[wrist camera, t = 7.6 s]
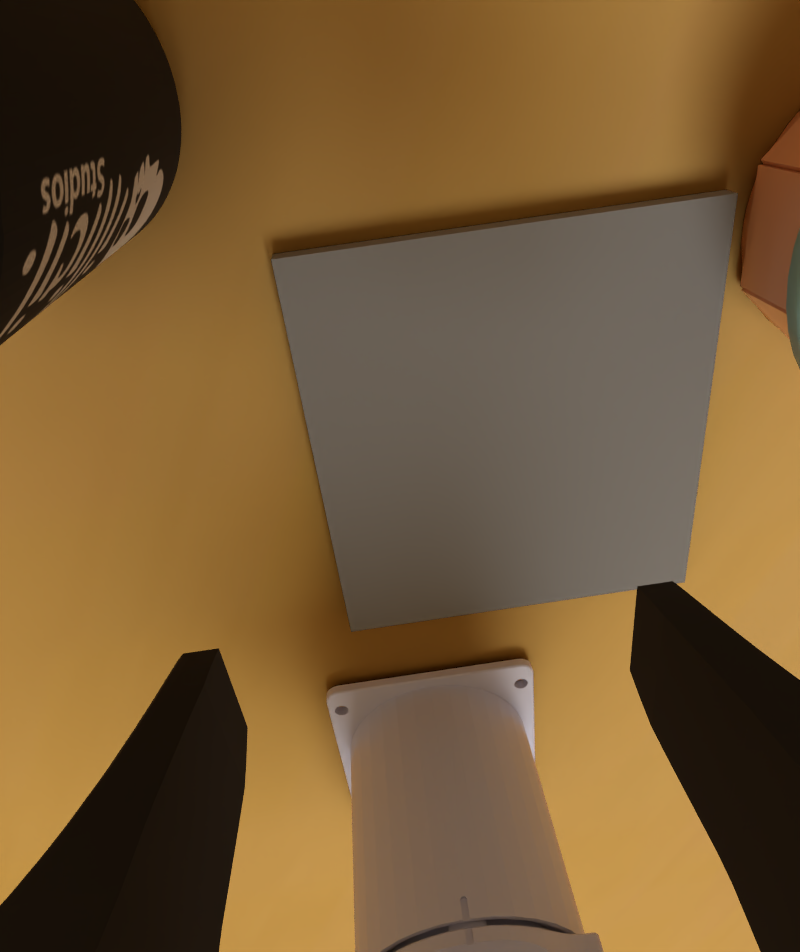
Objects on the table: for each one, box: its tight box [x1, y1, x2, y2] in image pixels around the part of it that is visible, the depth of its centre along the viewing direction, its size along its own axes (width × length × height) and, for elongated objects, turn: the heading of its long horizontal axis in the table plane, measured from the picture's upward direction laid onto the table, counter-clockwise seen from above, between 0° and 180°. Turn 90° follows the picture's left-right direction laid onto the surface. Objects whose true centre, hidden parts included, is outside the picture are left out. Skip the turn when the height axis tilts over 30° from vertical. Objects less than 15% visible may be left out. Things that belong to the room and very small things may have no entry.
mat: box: [271, 190, 738, 632], centre depth 21 cm, size 13×12×1 cm
